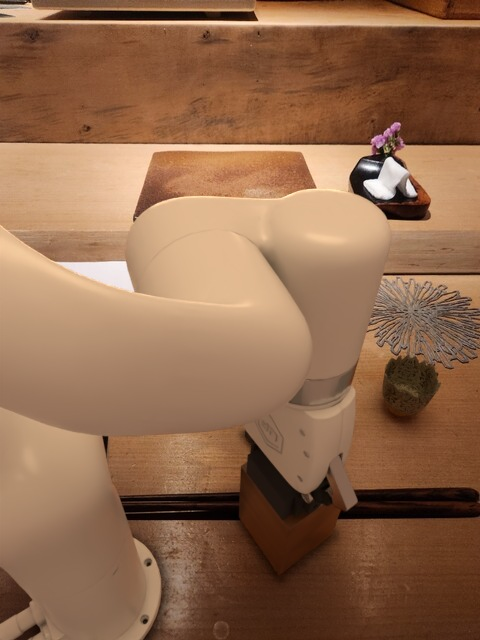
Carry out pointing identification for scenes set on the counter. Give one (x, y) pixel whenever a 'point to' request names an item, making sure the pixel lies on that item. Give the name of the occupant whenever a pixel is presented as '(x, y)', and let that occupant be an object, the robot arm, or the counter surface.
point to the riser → (282, 526)
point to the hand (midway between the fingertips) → (284, 478)
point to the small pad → (271, 483)
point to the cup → (408, 385)
